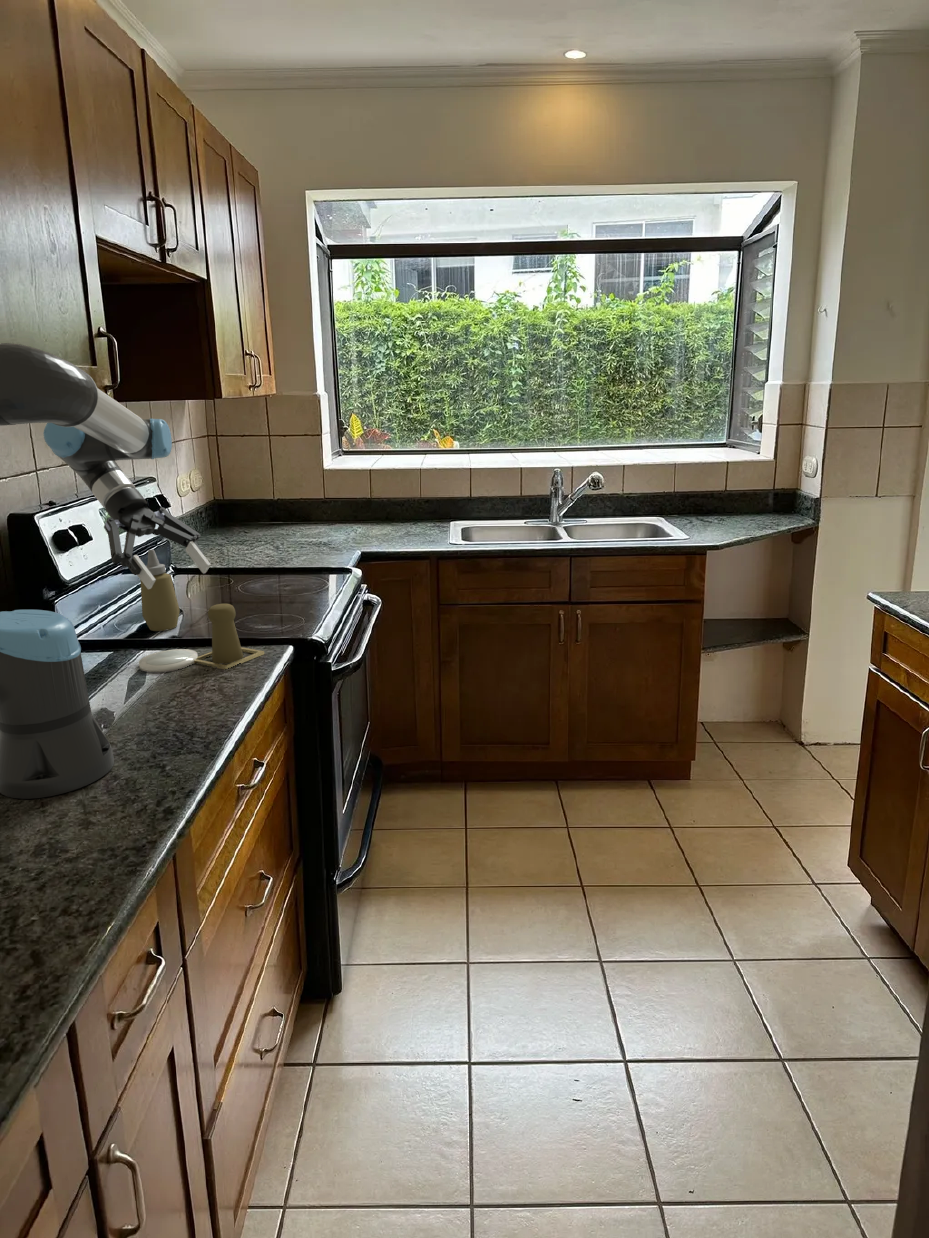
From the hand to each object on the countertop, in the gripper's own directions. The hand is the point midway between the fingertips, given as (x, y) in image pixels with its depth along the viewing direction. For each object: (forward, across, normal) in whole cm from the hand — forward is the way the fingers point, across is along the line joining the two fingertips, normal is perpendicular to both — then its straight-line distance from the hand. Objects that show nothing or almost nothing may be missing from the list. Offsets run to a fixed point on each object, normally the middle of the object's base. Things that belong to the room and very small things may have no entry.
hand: (180, 576), depth 167 cm
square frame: (+19, 0, -3) cm, 19 cm away
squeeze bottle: (-3, -9, -25) cm, 27 cm away
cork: (+19, 0, -3) cm, 19 cm away
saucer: (+12, +7, -10) cm, 17 cm away
